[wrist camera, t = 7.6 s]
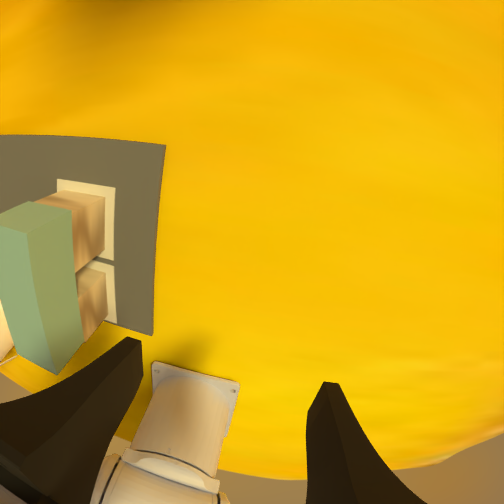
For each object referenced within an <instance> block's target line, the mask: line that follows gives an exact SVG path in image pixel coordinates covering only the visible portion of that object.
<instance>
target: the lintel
mask: <svg viewBox="0 0 504 504" xmlns="http://www.w3.org/2000/svg"><path fill="white" fill-rule="evenodd" d="M0 300H1V304H2V308H3V311H4V315H5V318H6V321H7V325H8V328H9V331H10V334H11V337H12V340H13V343H14V346H15V348H16V351H17V354H19V355H20V356H22V357H24V358H26V359H27V360H29V361H31V362H33V363H35V364H37V365H38V366H40V367H42V368H44V369H46V370H48V371H50V372H52V373H54V374H56V375H58V374H59V373H60V371H61V370H62V369H63V367H64V366H65V365H66V364H67V362H68V361H69V360H70V359H71V357H72V356H73V355H74V353H75V352H76V351H77V350H78V348H79V347H80V346H81V345H82V343H83V342H84V341H85V340H84V334H83V329H82V323H81V316H80V310H79V303H78V295H77V287H76V277H75V267H74V254H73V237H72V210H68V209H64V208H59V207H54V206H50V205H45V204H40V203H35V202H31V201H28V202H25V203H23V204H21V205H18V206H16V207H14V208H12V209H9V210H7V211H5V212H3V213H1V214H0Z"/></svg>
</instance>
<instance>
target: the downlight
mask: <svg viewBox="0 0 504 504" xmlns="http://www.w3.org/2000/svg"><path fill="white" fill-rule="evenodd" d="M13 346H14V343H13V340H12V337H11V334H10V331H9V328H8V325H7V321H6V318H5V315H4V311H3V308H2V304H1V300H0V362H1V360H2V359H3V358H4V357H5V356H6V354H7V353H8V352H9V351H10V350H11V349H12V347H13ZM17 355H18V354H17ZM17 355H16V356H17ZM16 356H14V357H12V358H10V359H8V360H7V361H5V362H3V363H1V364H0V366H1V365H3V364H5V363H6V362H8V361H10V360H12V359H14V358H16Z"/></svg>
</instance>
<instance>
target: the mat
mask: <svg viewBox="0 0 504 504" xmlns="http://www.w3.org/2000/svg"><path fill="white" fill-rule="evenodd" d="M165 150H166V145H161V144H153V143H145V142H136V141H126V140H116V139H104V138H91V137H76V136H54V135H0V214H1V213H3V212H5V211H7V210H9V209H12V208H14V207H16V206H18V205H21V204H23V203H25V202H28V201H31V202H35V201H37V200H40V199H42V198H44V197H47V196H49V195H52V194H54V193H57V192H59V191H62V190H68V191H74V192H80V193H86V194H91V195H97V196H102V197H105V250H103V251H102V252H101V253H99V254H98V255H97V256H96V257H94V258H93V259H92V260H91V261H89V262H88V263H87V264H86V265H84V267H87V268H91V269H94V270H98V271H101V272H104V273H106V289H107V303H108V315H107V317H106V318H105V319H104V320H103V321H106V322H109V323H112V324H115V325H118V326H121V327H124V328H127V329H130V330H133V331H136V332H140V333H143V334H146V335H150V336H152V335H153V308H154V273H155V253H156V237H157V224H158V212H159V201H160V191H161V182H162V173H163V165H164V157H165Z"/></svg>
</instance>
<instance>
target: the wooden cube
mask: <svg viewBox="0 0 504 504" xmlns="http://www.w3.org/2000/svg"><path fill="white" fill-rule="evenodd" d="M75 277H76V287H77V295H78V303H79V310H80V316H81V323H82V329H83V334H84V340H85V341H84V343H85V342H86V341H87V340H88V338H89V337H90V336H91V335H92V334H93V332H94V331H95V330H96V329H97V327H98V326H99V325H100V324H101V323H102V321H103V320H104V319H105V318H106V317H107V315H108V303H107V289H106V273H104V272H101V271H98V270H94V269H91V268H87V267H84V266H83V267H82V268H81V269H79V270H78V271H77V272H76V273H75Z"/></svg>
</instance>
